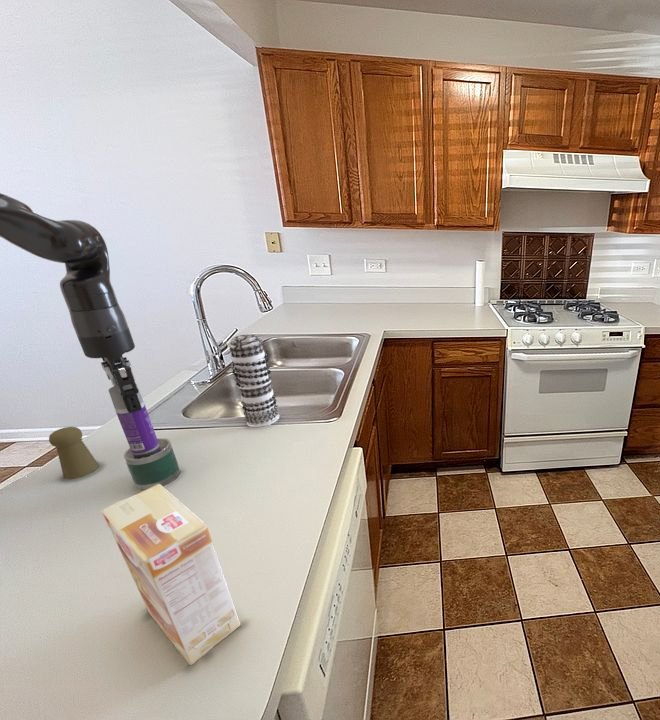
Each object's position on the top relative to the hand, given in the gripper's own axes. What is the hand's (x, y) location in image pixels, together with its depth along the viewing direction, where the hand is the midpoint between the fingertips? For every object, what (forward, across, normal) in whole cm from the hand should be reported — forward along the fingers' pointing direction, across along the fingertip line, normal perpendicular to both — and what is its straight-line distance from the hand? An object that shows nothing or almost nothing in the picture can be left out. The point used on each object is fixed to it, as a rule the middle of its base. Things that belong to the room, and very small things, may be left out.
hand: (131, 405), depth 83 cm
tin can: (+19, 0, 0) cm, 19 cm away
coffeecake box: (+19, +44, -5) cm, 48 cm away
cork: (+19, -17, -11) cm, 28 cm away
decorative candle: (+19, -9, +27) cm, 34 cm away
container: (+11, 0, 0) cm, 11 cm away
